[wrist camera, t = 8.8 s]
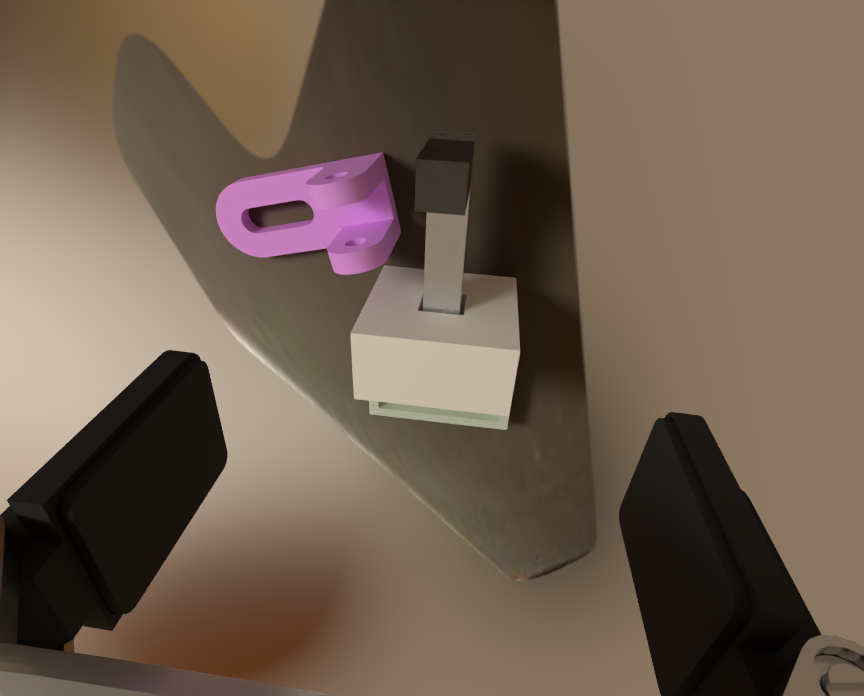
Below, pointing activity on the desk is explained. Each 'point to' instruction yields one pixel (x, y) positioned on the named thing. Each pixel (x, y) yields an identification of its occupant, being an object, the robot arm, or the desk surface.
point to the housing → (437, 345)
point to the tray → (439, 414)
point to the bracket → (318, 213)
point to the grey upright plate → (445, 215)
